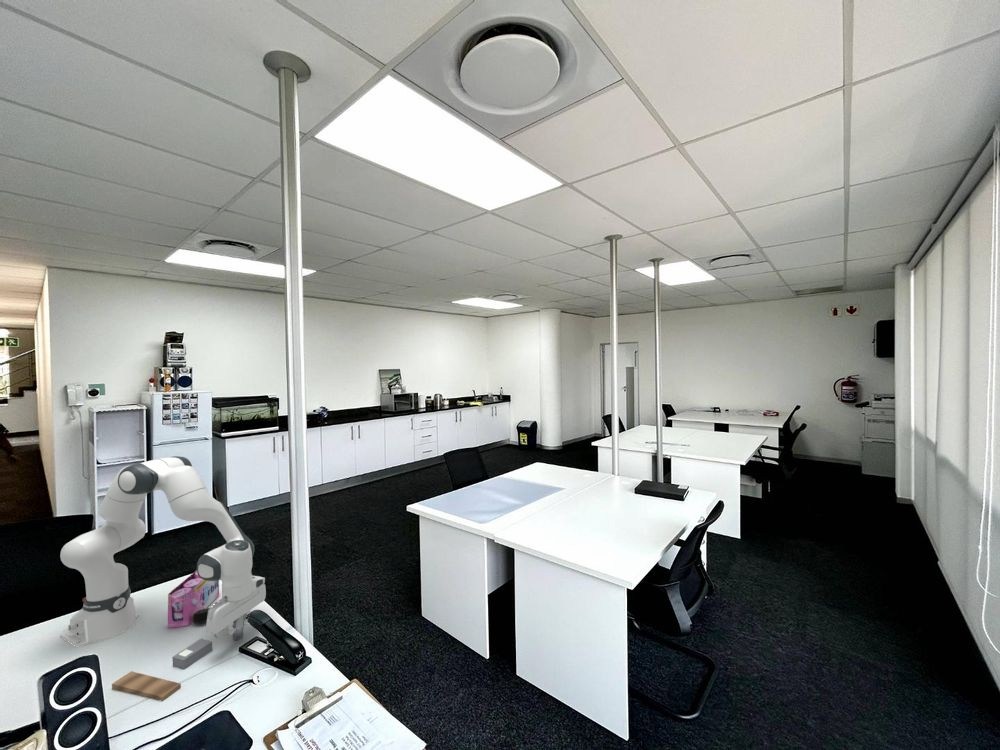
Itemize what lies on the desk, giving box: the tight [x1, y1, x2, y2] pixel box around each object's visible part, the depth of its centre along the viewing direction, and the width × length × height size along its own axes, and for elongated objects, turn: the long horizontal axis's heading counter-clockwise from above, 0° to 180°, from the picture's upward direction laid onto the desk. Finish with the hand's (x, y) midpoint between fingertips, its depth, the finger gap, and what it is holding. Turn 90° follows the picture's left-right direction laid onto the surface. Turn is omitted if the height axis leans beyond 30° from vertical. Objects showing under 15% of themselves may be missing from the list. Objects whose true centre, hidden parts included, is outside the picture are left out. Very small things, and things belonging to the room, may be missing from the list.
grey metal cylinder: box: [231, 615, 245, 642], centre depth 137 cm, size 3×3×9 cm
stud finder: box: [172, 638, 213, 670], centre depth 130 cm, size 5×9×4 cm, turn 162°
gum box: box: [167, 569, 220, 629], centre depth 156 cm, size 22×7×13 cm, turn 9°
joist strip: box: [111, 670, 182, 702], centre depth 117 cm, size 20×5×2 cm, turn 75°
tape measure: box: [192, 607, 211, 624], centre depth 150 cm, size 7×7×4 cm
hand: (237, 628), depth 137 cm, fingers closed on grey metal cylinder, 3 cm apart
